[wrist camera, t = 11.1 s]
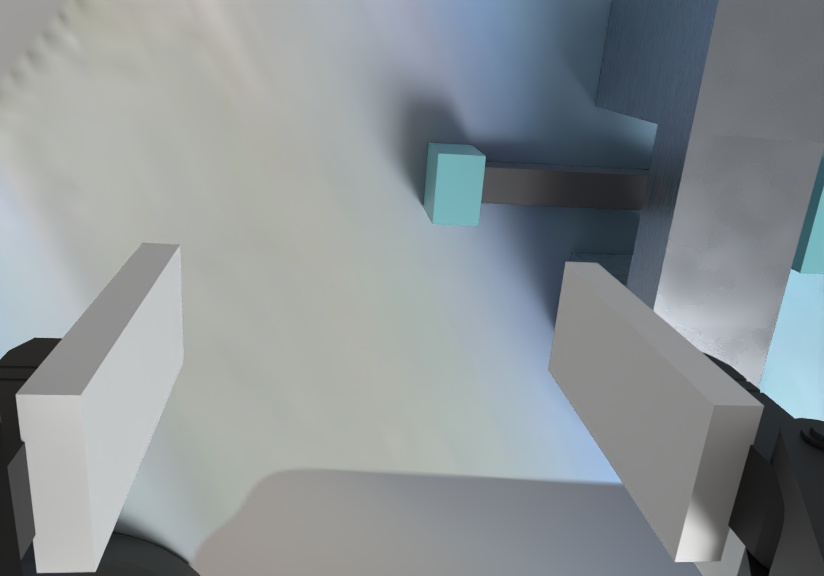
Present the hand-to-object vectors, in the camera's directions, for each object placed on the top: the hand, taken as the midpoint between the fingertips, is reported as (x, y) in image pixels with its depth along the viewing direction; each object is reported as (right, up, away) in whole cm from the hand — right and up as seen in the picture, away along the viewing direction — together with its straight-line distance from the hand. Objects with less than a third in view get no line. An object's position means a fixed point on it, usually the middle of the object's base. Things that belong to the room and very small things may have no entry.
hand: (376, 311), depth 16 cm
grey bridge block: (+11, +5, +18) cm, 22 cm away
